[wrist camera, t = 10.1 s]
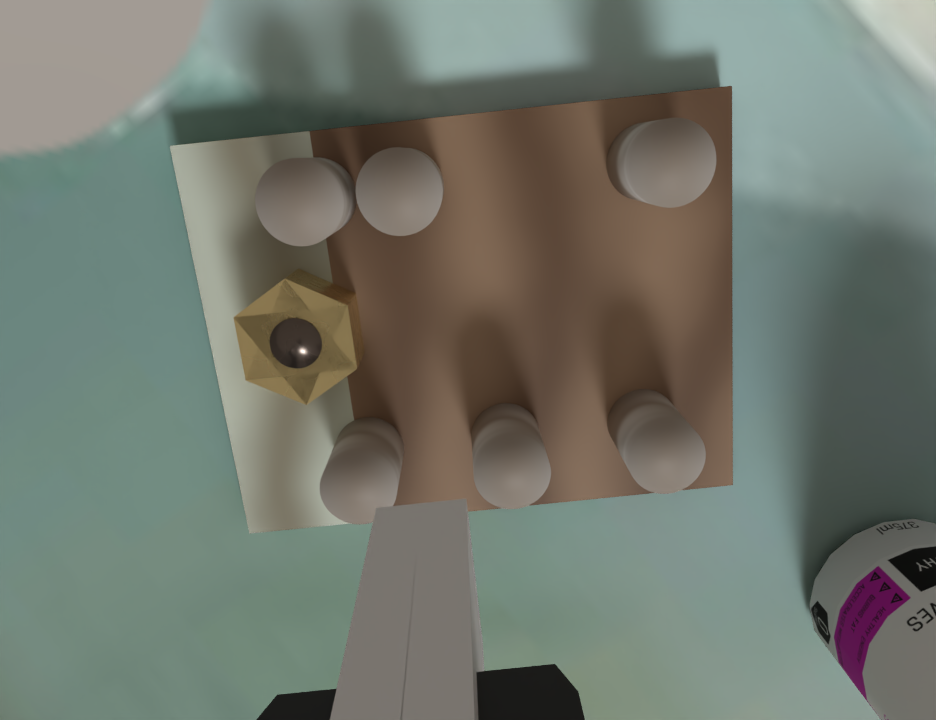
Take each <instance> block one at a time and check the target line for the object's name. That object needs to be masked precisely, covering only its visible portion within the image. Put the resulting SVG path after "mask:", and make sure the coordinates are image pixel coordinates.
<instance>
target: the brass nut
mask: <svg viewBox="0 0 936 720" xmlns="http://www.w3.org/2000/svg"><path fill="white" fill-rule="evenodd" d="M233 318H234V323H235V329H236V334H237V339H238V344H239V349H240V354H241V359H242V364H243V370H244V375H245V380H246V381H248V382H251V383H253V384H256V385H258V386H261V387H263V388H266V389H268V390H271V391H273V392H275V393H278V394H280V395H283V396H285V397H288V398H290V399H293V400H295V401H298V402H300V403H303V404H305V405H307V404H309V403H310V402H312V401H313V400H314V399H316V398H317V397H319V396H320V395H321V394H323V393H324V392H326V391H327V390H328V389H330V388H331V387H333V386H334V385H335V384H337V383H338V382H340V381H341V380H342V379H344V378H345V377H347V376H348V375H349V374H351V373H352V372H354V371H355V370H356V369H357V368H358V366H359V364H360V361H361V359H362V357H363V355H364V353H365V350H364V343H363V337H362V330H361V323H360V316H359V309H358V302H357V296H356V293H354V292H352V291H350V290H347V289H345V288H343V287H340V286H338V285H336V284H333V283H331V282H329V281H326V280H324V279H322V278H319V277H317V276H315V275H313V274H310V273H308V272H306V271H303V270H301V269H299V268H298V269H297V270H296V271H294V272H293V273H292V274H290V275H289V276H288V277H286V278H285V279H283V280H282V281H281V282H280V283H278V284H277V285H276V286H274V287H273V288H272V289H270V290H269V291H268V292H266V293H265V294H264V295H262V296H261V297H260V298H258V299H257V300H256V301H254V302H253V303H252V304H250V305H249V306H248V307H246V308H245V309H244V310H242V311H241V312H240V313H238V314H237V315H236V316H234V317H233Z"/></svg>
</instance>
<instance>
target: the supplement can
mask: <svg viewBox="0 0 936 720" xmlns="http://www.w3.org/2000/svg"><path fill="white" fill-rule="evenodd" d="M809 607H810V612H811V617H812V622H813V627H814V630H815V632H816V633H817V635H818V636H819V637H820V639H821V640H822V641H823V643H824V644H825V646H826V647H827V648H828V650H829V651H830V652H831V654H832V655H833V656H834V658H835V659H836V660H837V662H838V663H839V664H840V666H841V667H842V668H843V670H844V671H845V672H846V674H847V675H848V676H849V678H850V679H851V680H852V682H853V683H854V684H855V686H856V687H857V688H858V690H859V691H860V692H861V694H862V695H863V696H864V698H865V699H866V700H867V702H868V703H869V704H870V706H871V707H872V708H873V710H874V711H875V712H876V714H877V715H878V716H879V718H880V719H881V720H936V523H931V522H926V521H922V520H917V519H908V520H899V521H890V522H883V523H880V524H878V525H876V526H873V527H871V528H869V529H867V530H864V531H862V532H860V533H857V534H855V535H853V536H852V537H851V538H850V539H848V540H847V541H846V542H845V543H844V544H842V545H841V546H840V547H839V548H838V549H837V550H835V551H834V552H833V553H832V554H831V555H830V556H829V558H828V559H827V561H826V562H825V564H824V566H823V567H822V569H821V570H820V572H819V574H818V575H817V577H816V578H815V581H814V586H813V590H812V595H811V600H810V605H809Z"/></svg>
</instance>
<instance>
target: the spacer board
mask: <svg viewBox="0 0 936 720" xmlns="http://www.w3.org/2000/svg"><path fill="white" fill-rule="evenodd" d="M170 150H171V154H172V159H173V164H174V169H175V174H176V179H177V184H178V188H179V193H180V198H181V203H182V208H183V213H184V218H185V222H186V227H187V232H188V237H189V242H190V247H191V252H192V256H193V261H194V266H195V271H196V276H197V281H198V286H199V290H200V295H201V300H202V305H203V310H204V315H205V320H206V324H207V329H208V334H209V339H210V344H211V349H212V353H213V358H214V363H215V368H216V373H217V378H218V383H219V387H220V392H221V397H222V402H223V407H224V412H225V417H226V421H227V426H228V431H229V436H230V441H231V446H232V451H233V455H234V460H235V465H236V470H237V475H238V480H239V485H240V489H241V494H242V499H243V504H244V509H245V514H246V519H247V523H248V528H249V533H259V532H269V531H279V530H289V529H299V528H309V527H319V526H329V525H339V524H349V523H352V524H367V523H371V522H373V520H374V516H375V511H376V508H380V507H389V506H399V505H409V504H418V503H428V502H438V501H448V500H457V499H466V500H467V509H468V511H478V510H488V509H498V508H505V509H518V508H522V507H526V506H528V505H538V504H548V503H558V502H568V501H578V500H588V499H598V498H608V497H618V496H628V495H638V494H648V493H660V494H668V493H674V492H677V491H680V490H688V489H698V488H707V487H717V486H727V485H733V401H732V86H727V87H718V88H708V89H699V90H690V91H680V92H671V93H661V94H652V95H643V96H633V97H624V98H615V99H605V100H596V101H586V102H577V103H568V104H558V105H549V106H540V107H530V108H521V109H511V110H502V111H493V112H483V113H474V114H465V115H455V116H446V117H436V118H427V119H418V120H408V121H399V122H390V123H380V124H371V125H361V126H352V127H343V128H333V129H324V130H315V131H305V132H296V133H286V134H277V135H268V136H258V137H249V138H240V139H230V140H221V141H211V142H202V143H193V144H183V145H174V146H170ZM298 268H299V269H301V270H303V271H306V272H308V273H310V274H313V275H315V276H317V277H319V278H322V279H324V280H326V281H329V282H331V283H333V284H336V285H338V286H340V287H343V288H345V289H347V290H350V291H352V292H354V293H356V296H357V302H358V309H359V316H360V323H361V330H362V337H363V343H364V350H365V353H364V355H363V357H362V359H361V361H360V364H359V366H358V368H357V369H356V370H355V371H354V372H352V373H351V374H349V375H348V376H347V377H345V378H344V379H342V380H341V381H340V382H338V383H337V384H335V385H334V386H333V387H331V388H330V389H328V390H327V391H326V392H324V393H323V394H321V395H320V396H319V397H317V398H316V399H314V400H313V401H312V402H310V403H309V404H307V405H305V404H303V403H300V402H298V401H295V400H293V399H290V398H288V397H285V396H283V395H280V394H278V393H275V392H273V391H271V390H268V389H266V388H263V387H261V386H258V385H256V384H253V383H251V382H248V381H246V380H245V375H244V370H243V364H242V359H241V354H240V349H239V344H238V339H237V334H236V329H235V323H234V318H233V317H234V316H236V315H237V314H238V313H240V312H241V311H242V310H244V309H245V308H246V307H248V306H249V305H250V304H252V303H253V302H254V301H256V300H257V299H258V298H260V297H261V296H262V295H264V294H265V293H266V292H268V291H269V290H270V289H272V288H273V287H274V286H276V285H277V284H278V283H280V282H281V281H282V280H283V279H285V278H286V277H288V276H289V275H290V274H292V273H293V272H294V271H296V270H297V269H298Z"/></svg>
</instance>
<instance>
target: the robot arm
mask: <svg viewBox="0 0 936 720" xmlns="http://www.w3.org/2000/svg"><path fill="white" fill-rule="evenodd" d="M257 720H585V719H584V715H583V710H582V706H581V702H580V697H579V693H578V691H577V690H576V689H575V687H574V686H573V685H572V684H571V683H570V681H569V680H568V679H567V678H566V677H565V675H564V674H563V673H562V672H561V671H560V669H559V668H558V667H557V666H556V665H555V664H551V665H541V666H531V667H521V668H511V669H501V670H491V671H484V657H483V641H482V631H481V623H480V614H479V605H478V596H477V588H476V579H475V570H474V561H473V553H472V544H471V535H470V526H469V518H468V509H467V500H466V499H457V500H448V501H438V502H428V503H418V504H409V505H399V506H389V507H380V508H376V511H375V516H374V520H373V525H372V529H371V534H370V539H369V543H368V548H367V552H366V557H365V561H364V566H363V570H362V575H361V580H360V584H359V589H358V593H357V598H356V602H355V607H354V612H353V616H352V621H351V625H350V630H349V634H348V639H347V644H346V648H345V653H344V657H343V662H342V666H341V671H340V676H339V680H338V685H337V689H330V690H320V691H310V692H300V693H291V694H281V695H277V696H276V697H275V698H274V699H273V701H272V702H271V703H270V704H269V705H268V707H267V708H266V709H265V710H264V711H263V713H262V714H261V715H260V716H259V717H258V719H257Z"/></svg>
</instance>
